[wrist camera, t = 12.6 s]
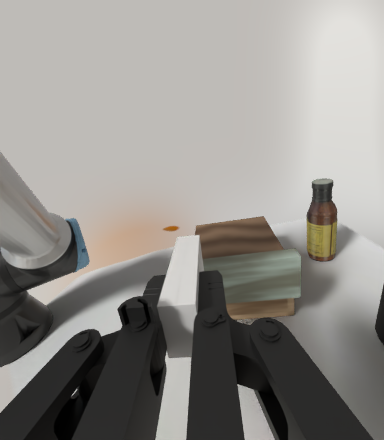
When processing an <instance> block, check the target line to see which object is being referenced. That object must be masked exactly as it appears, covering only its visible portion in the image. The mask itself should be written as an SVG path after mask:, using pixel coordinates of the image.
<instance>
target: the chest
mask: <svg viewBox="0 0 384 440" xmlns="http://www.w3.org/2000/svg"><path fill="white" fill-rule="evenodd" d="M226 307H227V312H228V314H229V316H230V317H231V318H232V319H233V320H239V319H252V318H265V317H278V316H291V315H294V298H287V299H275V300H264V301H252V302H241V303H229V304H226Z"/></svg>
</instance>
